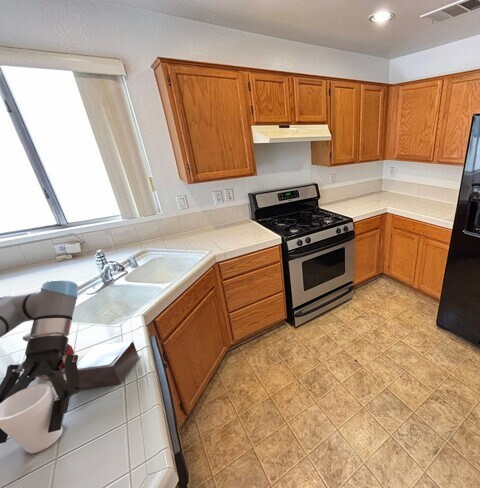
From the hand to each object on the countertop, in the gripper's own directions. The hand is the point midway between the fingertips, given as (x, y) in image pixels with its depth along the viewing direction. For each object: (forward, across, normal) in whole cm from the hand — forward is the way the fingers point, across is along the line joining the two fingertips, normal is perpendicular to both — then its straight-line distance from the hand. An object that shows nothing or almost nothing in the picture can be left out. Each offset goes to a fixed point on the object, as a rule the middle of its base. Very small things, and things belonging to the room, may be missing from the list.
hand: (26, 437), depth 60 cm
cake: (-18, +14, -25) cm, 34 cm away
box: (-13, -5, -20) cm, 24 cm away
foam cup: (+2, 0, -6) cm, 6 cm away
